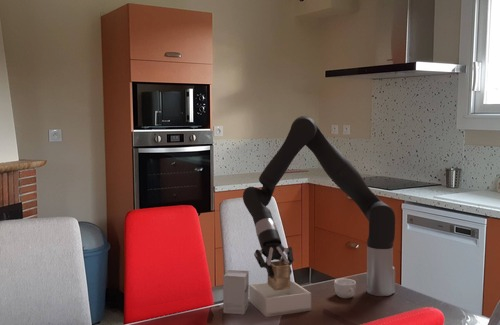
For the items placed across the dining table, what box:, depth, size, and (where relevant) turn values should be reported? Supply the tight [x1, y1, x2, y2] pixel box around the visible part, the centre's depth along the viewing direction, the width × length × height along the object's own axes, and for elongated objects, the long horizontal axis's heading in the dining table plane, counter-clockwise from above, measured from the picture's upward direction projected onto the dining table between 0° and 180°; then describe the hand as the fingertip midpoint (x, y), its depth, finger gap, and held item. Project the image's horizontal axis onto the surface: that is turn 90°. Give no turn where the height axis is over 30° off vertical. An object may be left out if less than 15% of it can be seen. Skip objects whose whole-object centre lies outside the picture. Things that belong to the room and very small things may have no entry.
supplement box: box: [222, 269, 250, 315], centre depth 168 cm, size 7×7×13 cm
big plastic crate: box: [249, 279, 312, 318], centre depth 172 cm, size 16×16×6 cm
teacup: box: [333, 277, 357, 299], centre depth 180 cm, size 10×8×5 cm
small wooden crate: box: [267, 260, 291, 291], centre depth 171 cm, size 6×6×8 cm
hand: (280, 275), depth 170 cm, fingers closed on small wooden crate, 5 cm apart
